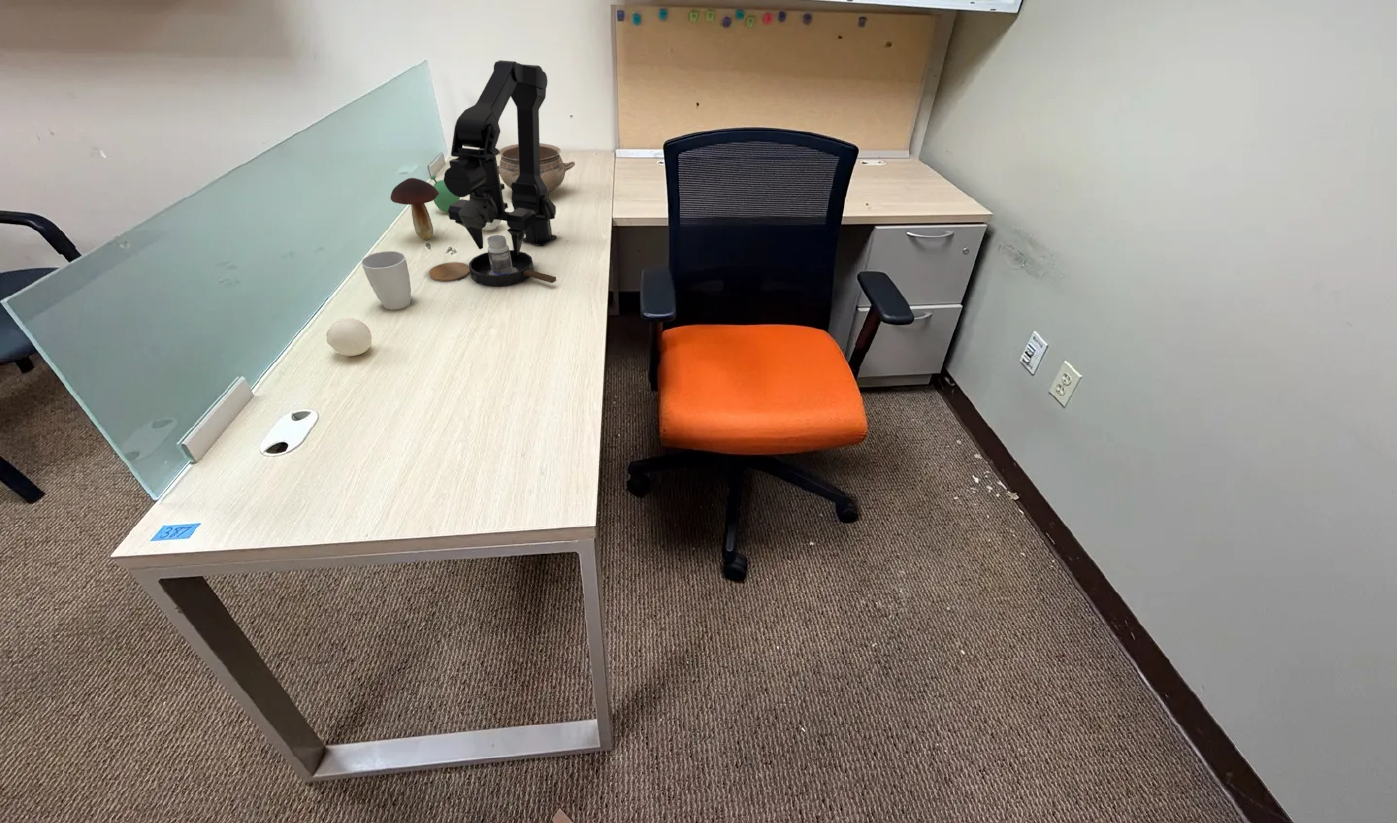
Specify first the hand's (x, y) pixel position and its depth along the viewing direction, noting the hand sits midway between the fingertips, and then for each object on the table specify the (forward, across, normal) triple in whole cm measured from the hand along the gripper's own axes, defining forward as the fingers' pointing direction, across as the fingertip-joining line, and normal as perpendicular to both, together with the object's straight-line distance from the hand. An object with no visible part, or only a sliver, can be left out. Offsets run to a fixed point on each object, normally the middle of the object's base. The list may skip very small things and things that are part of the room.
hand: (499, 251), depth 136 cm
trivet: (+5, -11, -4) cm, 13 cm away
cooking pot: (+5, -19, +50) cm, 54 cm away
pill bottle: (+5, 0, 0) cm, 5 cm away
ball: (+5, -17, +22) cm, 28 cm away
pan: (+5, +4, -1) cm, 6 cm away
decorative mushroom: (+5, -28, +10) cm, 31 cm away
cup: (+5, -13, -21) cm, 25 cm away
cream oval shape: (+5, -8, -39) cm, 40 cm away
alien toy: (+5, -34, +29) cm, 45 cm away
